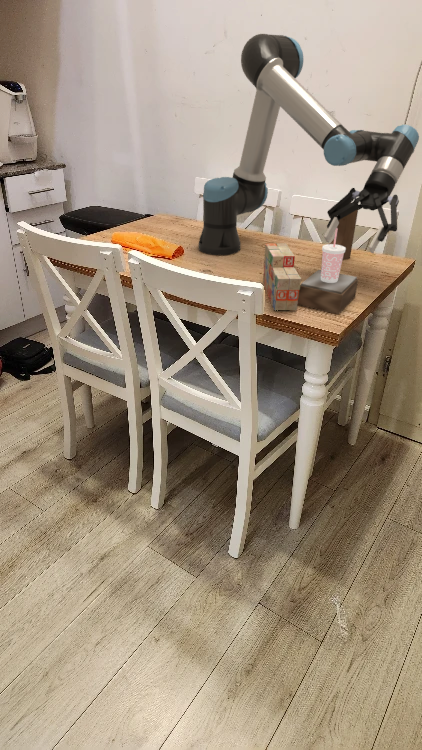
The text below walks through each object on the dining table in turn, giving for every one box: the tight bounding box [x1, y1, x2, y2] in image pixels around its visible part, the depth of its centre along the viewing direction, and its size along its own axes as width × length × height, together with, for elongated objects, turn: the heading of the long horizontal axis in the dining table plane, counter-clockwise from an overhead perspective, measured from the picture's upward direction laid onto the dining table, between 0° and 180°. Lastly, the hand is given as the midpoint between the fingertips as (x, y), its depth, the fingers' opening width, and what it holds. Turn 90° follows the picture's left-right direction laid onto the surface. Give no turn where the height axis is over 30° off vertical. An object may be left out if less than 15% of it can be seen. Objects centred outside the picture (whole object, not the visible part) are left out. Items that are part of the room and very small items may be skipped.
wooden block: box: [321, 210, 359, 261], centre depth 162 cm, size 9×4×18 cm, turn 116°
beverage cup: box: [320, 228, 346, 283], centre depth 129 cm, size 6×6×14 cm
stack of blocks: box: [262, 242, 302, 312], centre depth 135 cm, size 21×6×12 cm, turn 3°
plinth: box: [297, 269, 359, 315], centre depth 134 cm, size 12×14×6 cm
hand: (347, 244), depth 132 cm, fingers open, 13 cm apart
